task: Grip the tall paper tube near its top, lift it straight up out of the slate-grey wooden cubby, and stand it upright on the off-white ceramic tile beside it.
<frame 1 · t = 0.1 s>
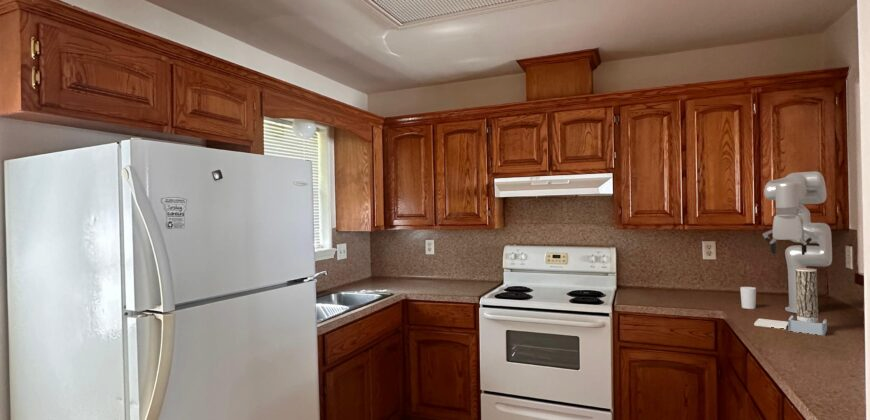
hand: (788, 254, 196), 31 cm above the table, tool pointing down, fingers open, 9 cm apart
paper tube: (807, 331, 195), resting in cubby
drinking glass: (748, 308, 241), on the table
tile: (771, 324, 206), on the table
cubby: (807, 330, 195), on the table
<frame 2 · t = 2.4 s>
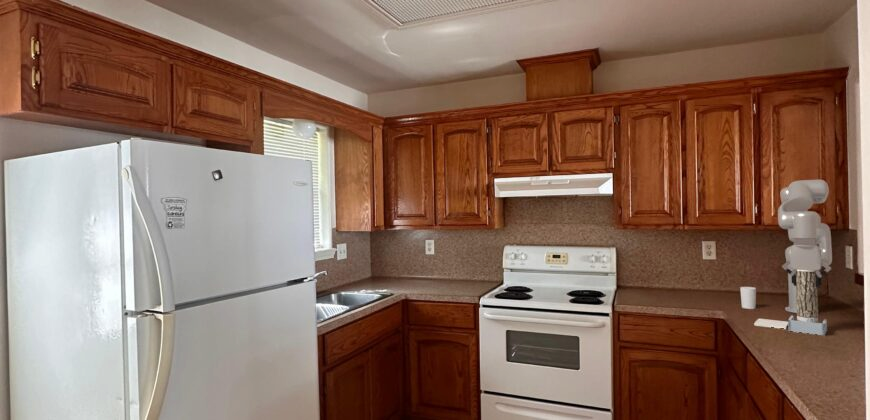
hand: (806, 285, 195), 18 cm above the table, tool pointing down, fingers closed on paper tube, 6 cm apart
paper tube: (807, 331, 195), resting in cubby, touching gripper
everything else where it was.
when the fingers open (21 cm above the table, at t = 8.4 s): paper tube drops 1 cm, resting on tile.
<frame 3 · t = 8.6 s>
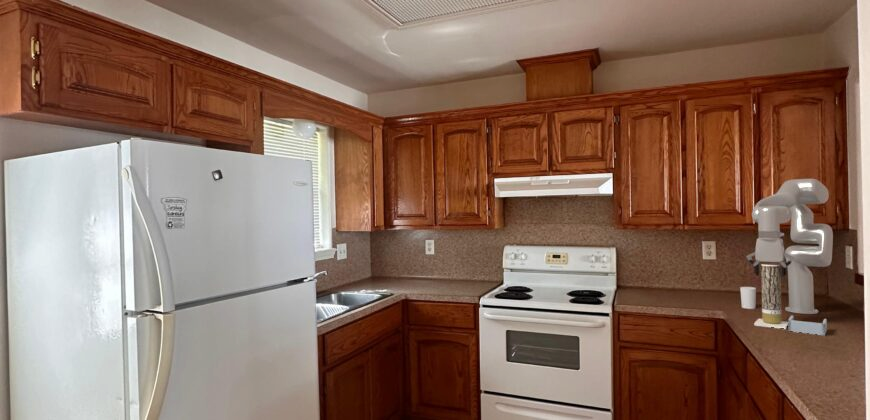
hand: (770, 275, 206), 21 cm above the table, tool pointing down, fingers open, 8 cm apart
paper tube: (771, 322, 206), point 1 cm above the table, touching tile
everything else where it was.
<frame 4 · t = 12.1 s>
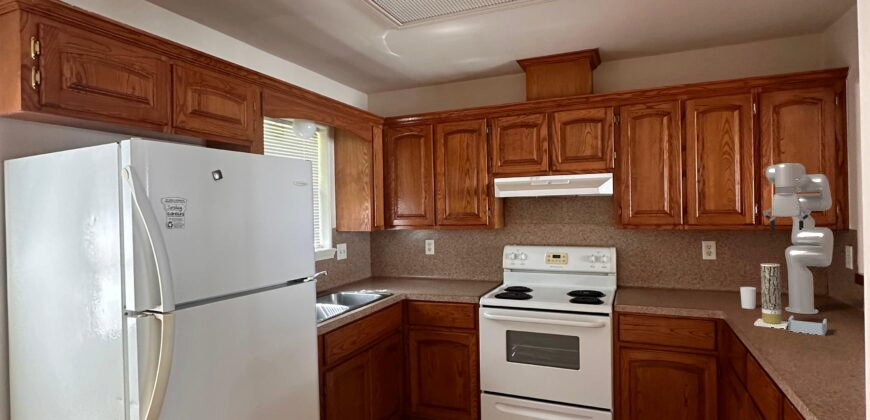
hand: (786, 229, 211), 40 cm above the table, tool pointing down, fingers open, 9 cm apart
nothing on the table moved.
at the end: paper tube 0.2 cm off-centre on the tile, point 0.8 cm above the tile's base; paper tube tilted 0°; the gripper is holding nothing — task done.
